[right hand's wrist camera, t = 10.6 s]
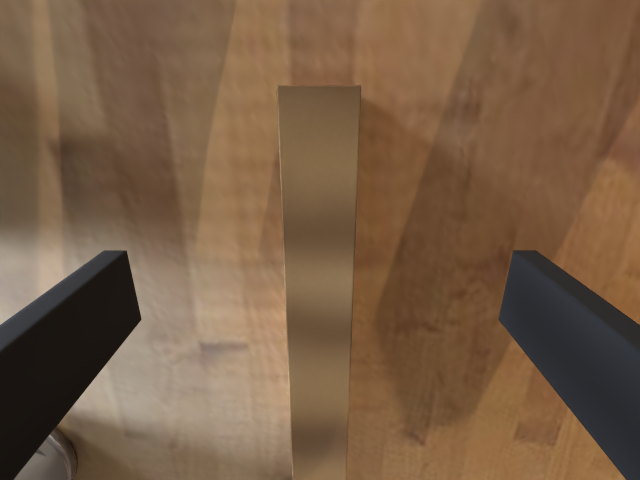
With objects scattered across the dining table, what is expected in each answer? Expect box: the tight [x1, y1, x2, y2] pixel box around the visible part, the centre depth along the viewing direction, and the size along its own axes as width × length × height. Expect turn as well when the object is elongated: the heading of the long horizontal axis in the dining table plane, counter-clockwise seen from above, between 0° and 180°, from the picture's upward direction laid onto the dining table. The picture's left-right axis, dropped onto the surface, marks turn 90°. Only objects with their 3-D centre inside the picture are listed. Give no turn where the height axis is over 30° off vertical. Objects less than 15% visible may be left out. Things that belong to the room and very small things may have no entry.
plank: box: [277, 85, 361, 480], centre depth 33 cm, size 53×5×8 cm, turn 0°
